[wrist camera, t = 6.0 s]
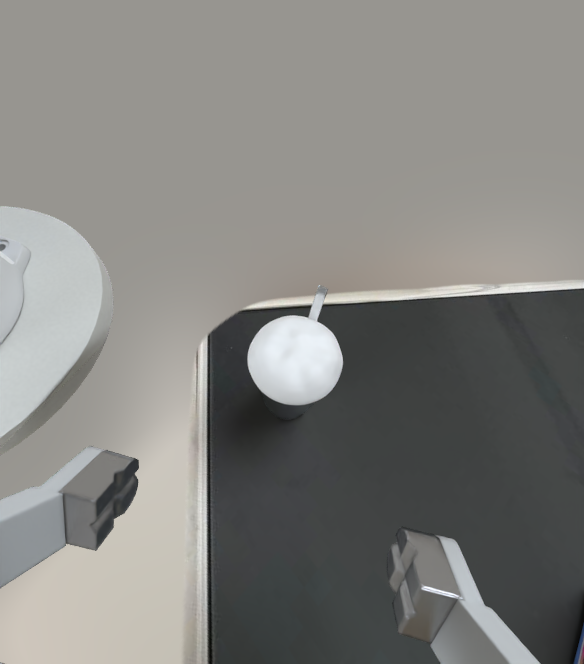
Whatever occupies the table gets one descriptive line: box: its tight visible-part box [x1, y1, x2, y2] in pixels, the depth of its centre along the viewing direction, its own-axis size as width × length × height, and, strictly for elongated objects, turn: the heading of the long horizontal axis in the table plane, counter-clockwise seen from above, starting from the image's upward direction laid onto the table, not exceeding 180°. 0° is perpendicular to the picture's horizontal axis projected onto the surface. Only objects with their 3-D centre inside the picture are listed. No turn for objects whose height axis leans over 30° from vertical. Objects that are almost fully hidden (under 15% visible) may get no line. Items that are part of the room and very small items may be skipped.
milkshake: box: [248, 285, 343, 420], centre depth 17 cm, size 5×5×10 cm
